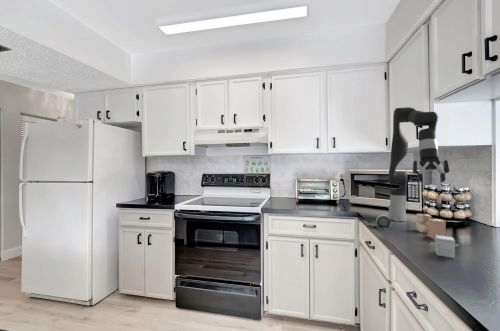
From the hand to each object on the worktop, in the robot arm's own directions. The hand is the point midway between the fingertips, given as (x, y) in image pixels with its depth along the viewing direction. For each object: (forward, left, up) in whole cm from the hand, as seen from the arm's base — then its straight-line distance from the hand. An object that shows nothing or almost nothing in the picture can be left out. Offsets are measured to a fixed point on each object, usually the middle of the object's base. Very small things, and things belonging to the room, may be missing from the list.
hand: (431, 182), depth 119 cm
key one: (-14, +13, -28) cm, 34 cm away
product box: (+12, -8, -30) cm, 33 cm away
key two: (-2, +7, -28) cm, 29 cm away
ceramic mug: (-31, +1, -30) cm, 43 cm away
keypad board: (-8, +10, -30) cm, 32 cm away
